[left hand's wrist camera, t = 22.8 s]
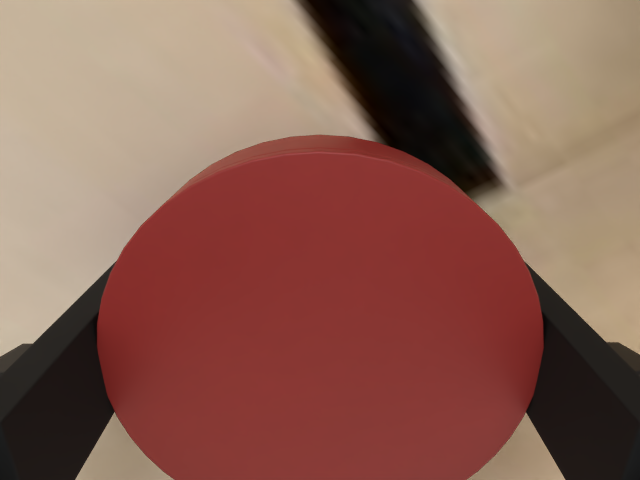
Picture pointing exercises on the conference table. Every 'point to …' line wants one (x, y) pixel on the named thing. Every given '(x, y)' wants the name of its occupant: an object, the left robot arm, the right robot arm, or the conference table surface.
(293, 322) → the lid
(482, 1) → the conference table surface
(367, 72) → the conference table surface
